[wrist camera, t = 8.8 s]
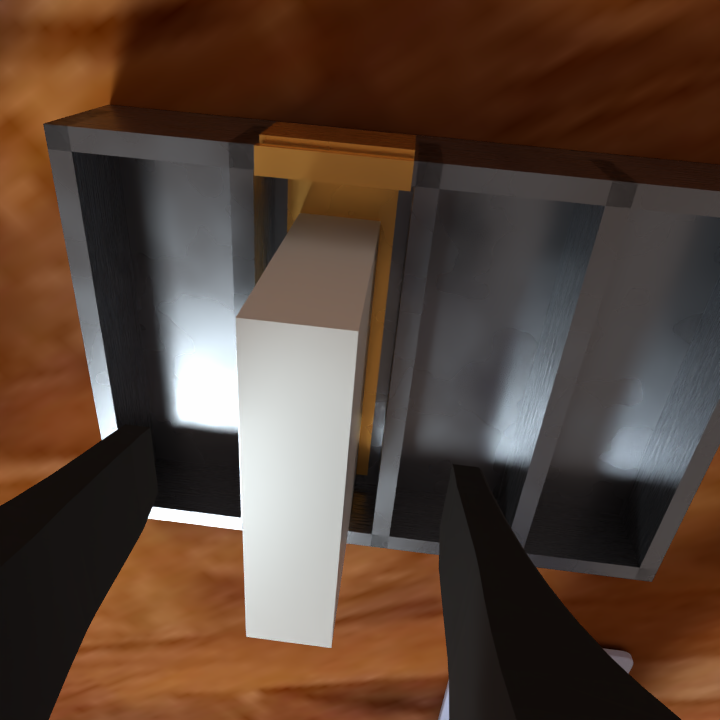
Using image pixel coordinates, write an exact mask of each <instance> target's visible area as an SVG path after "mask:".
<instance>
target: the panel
mask: <svg viewBox="0 0 720 720" xmlns="http://www.w3.org/2000/svg"><path fill="white" fill-rule="evenodd" d="M380 223H381V221H373V220H364V219H354V218H345V217H335V216H325V215H316V214H306V213H300V214H299V215H298V217H297V218H296V220H295V222H294V223H293V225H292V227H291V228H290V230H289V231H288V233H287V235H286V236H285V238H284V240H283V241H282V243H281V244H280V246H279V248H278V249H277V251H276V253H275V254H274V256H273V257H272V259H271V261H270V262H269V264H268V266H267V267H266V269H265V271H264V272H263V274H262V275H261V277H260V279H259V280H258V282H257V284H256V285H255V287H254V288H253V290H252V292H251V293H250V295H249V297H248V298H247V300H246V301H245V303H244V305H243V306H242V308H241V310H240V311H239V313H238V314H237V316H236V345H237V375H238V405H239V434H240V464H241V494H242V524H243V554H244V583H245V613H246V637H253V638H261V639H268V640H276V641H283V642H291V643H298V644H306V645H313V646H321V647H328V648H331V646H332V639H333V632H334V625H335V618H336V611H337V604H338V597H339V590H340V584H341V577H342V570H343V563H344V556H345V549H346V542H347V535H348V528H349V521H350V514H351V507H352V500H353V493H354V486H355V479H356V470H357V459H358V449H359V439H360V429H361V418H362V408H363V398H364V387H365V377H366V367H367V357H368V346H369V336H370V326H371V316H372V305H373V295H374V285H375V275H376V264H377V254H378V244H379V234H380Z"/></svg>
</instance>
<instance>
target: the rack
mask: <svg viewBox="0 0 720 720" xmlns="http://www.w3.org/2000/svg"><path fill="white" fill-rule="evenodd" d="M43 125H44V130H45V136H46V141H47V146H48V152H49V157H50V163H51V168H52V173H53V179H54V184H55V190H56V195H57V201H58V206H59V211H60V217H61V222H62V228H63V233H64V238H65V244H66V249H67V255H68V260H69V266H70V271H71V276H72V282H73V287H74V293H75V298H76V303H77V309H78V314H79V320H80V325H81V331H82V336H83V341H84V347H85V352H86V358H87V363H88V368H89V374H90V379H91V385H92V390H93V395H94V401H95V406H96V412H97V417H98V423H99V428H100V433H101V439H102V440H103V439H104V438H106V437H107V436H109V435H110V434H111V433H113V432H114V431H116V430H117V429H119V428H120V427H122V426H123V425H125V424H127V425H135V426H144V427H150V430H151V437H152V445H153V453H154V461H155V469H156V477H157V485H158V494H157V497H156V499H155V502H154V504H153V507H152V510H151V512H150V515H149V517H148V518H150V519H158V520H166V521H174V522H182V523H190V524H198V525H205V526H213V527H221V528H229V529H237V530H243V524H242V494H241V464H240V434H239V405H238V375H237V345H236V316H237V314H238V313H239V311H240V310H241V308H242V306H243V305H244V303H245V301H246V300H247V298H248V297H249V295H250V293H251V292H252V290H253V288H254V287H255V285H256V284H257V282H258V280H259V279H260V277H261V275H262V274H263V272H264V271H265V269H266V267H267V266H268V264H269V262H270V261H271V259H272V257H273V256H274V254H275V253H276V251H277V249H278V248H279V246H280V244H281V243H282V241H283V240H284V238H285V236H286V235H287V233H288V231H289V230H290V228H291V227H292V225H293V223H294V222H295V220H296V218H297V217H298V215H299V214H300V213H306V214H316V215H325V216H335V217H345V218H354V219H364V220H373V221H381V223H380V234H379V244H378V254H377V264H376V275H375V285H374V295H373V305H372V316H371V326H370V336H369V346H368V357H367V367H366V377H365V387H364V398H363V408H362V418H361V429H360V439H359V449H358V459H357V470H356V479H355V486H354V493H353V500H352V507H351V514H350V521H349V528H348V535H347V542H346V543H348V544H356V545H364V546H372V547H380V548H388V549H396V550H404V551H412V552H420V553H428V554H436V555H439V535H440V523H441V518H442V513H443V508H444V503H445V499H446V494H447V489H448V484H449V479H450V474H451V469H452V464H457V465H465V466H473V467H479V468H480V469H481V470H482V472H483V474H484V476H485V479H486V481H487V483H488V485H489V487H490V489H491V491H492V493H493V495H494V497H495V499H496V501H497V503H498V505H499V507H500V509H501V511H502V513H503V515H504V516H505V518H506V520H507V522H508V524H509V525H510V527H511V529H512V530H513V532H514V534H515V535H516V537H517V539H518V541H519V542H520V544H521V545H522V547H523V549H524V550H525V552H526V553H527V555H528V556H529V558H530V559H531V561H532V562H533V564H534V565H535V567H539V568H547V569H555V570H563V571H571V572H579V573H587V574H595V575H603V576H611V577H619V578H627V579H635V580H642V581H650V582H652V580H653V578H654V576H655V574H656V572H657V570H658V568H659V566H660V564H661V562H662V560H663V558H664V556H665V554H666V552H667V550H668V548H669V546H670V544H671V542H672V540H673V538H674V536H675V534H676V532H677V530H678V528H679V526H680V524H681V522H682V520H683V518H684V516H685V514H686V512H687V510H688V508H689V506H690V503H691V501H692V499H693V497H694V495H695V493H696V491H697V489H698V487H699V485H700V483H701V481H702V479H703V477H704V475H705V473H706V471H707V469H708V467H709V465H710V463H711V461H712V459H713V457H714V455H715V453H716V451H717V449H718V447H719V445H720V165H717V164H706V163H696V162H686V161H676V160H666V159H656V158H645V157H635V156H625V155H615V154H605V153H595V152H584V151H574V150H564V149H554V148H544V147H534V146H523V145H513V144H503V143H493V142H483V141H472V140H462V139H452V138H442V137H432V136H422V135H411V134H401V133H391V132H381V131H371V130H361V129H350V128H340V127H330V126H320V125H310V124H300V123H289V122H279V121H269V120H259V119H249V118H239V117H228V116H218V115H208V114H198V113H188V112H178V111H167V110H157V109H147V108H137V107H127V106H117V105H106V106H102V107H99V108H96V109H92V110H89V111H85V112H82V113H78V114H75V115H72V116H68V117H65V118H61V119H58V120H54V121H51V122H48V123H44V124H43Z"/></svg>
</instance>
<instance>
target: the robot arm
mask: <svg viewBox="0 0 720 720" xmlns="http://www.w3.org/2000/svg"><path fill="white" fill-rule="evenodd" d="M157 494H158V485H157V477H156V469H155V461H154V453H153V445H152V437H151V430H150V427H144V426H135V425H127V424H125V425H123V426H122V427H120V428H119V429H117V430H116V431H114V432H113V433H111V434H110V435H109V436H107V437H106V438H104V439H103V440H101V441H100V442H99V443H97V444H96V445H94V446H93V447H91V448H90V449H89V450H87V451H86V452H84V453H83V454H81V455H80V456H78V457H77V458H75V459H74V460H73V461H71V462H70V463H68V464H67V465H65V466H64V467H62V468H61V469H59V470H58V471H56V472H55V473H53V474H52V475H50V476H49V477H47V478H45V479H44V480H42V481H41V482H39V483H37V484H36V485H34V486H33V487H31V488H29V489H28V490H26V491H25V492H23V493H21V494H20V495H18V496H16V497H15V498H13V499H12V500H10V501H8V502H6V503H5V504H3V505H1V506H0V720H49V718H50V715H51V713H52V710H53V708H54V705H55V703H56V701H57V698H58V696H59V693H60V691H61V689H62V686H63V684H64V681H65V679H66V677H67V674H68V672H69V670H70V667H71V665H72V663H73V661H74V658H75V656H76V654H77V652H78V649H79V647H80V645H81V643H82V640H83V638H84V636H85V634H86V631H87V629H88V627H89V625H90V624H91V622H92V620H93V618H94V616H95V614H96V612H97V610H98V608H99V607H100V605H101V603H102V601H103V600H104V598H105V596H106V594H107V593H108V591H109V589H110V587H111V586H112V584H113V582H114V580H115V579H116V577H117V575H118V574H119V572H120V570H121V568H122V567H123V565H124V563H125V561H126V560H127V558H128V556H129V554H130V552H131V551H132V549H133V547H134V545H135V544H136V542H137V540H138V538H139V536H140V534H141V533H142V531H143V529H144V526H145V524H146V522H147V519H148V517H149V515H150V512H151V510H152V507H153V504H154V502H155V499H156V497H157ZM439 574H440V585H441V595H442V606H443V616H444V626H445V636H446V646H447V656H448V672H449V681H448V685H447V688H446V692H445V696H444V700H443V703H442V707H441V711H440V715H439V719H438V720H681V719H680V718H679V717H678V716H677V715H675V714H674V713H673V712H672V711H671V710H669V709H668V708H667V707H666V706H665V705H664V704H662V703H661V702H660V701H659V700H658V699H656V698H655V697H654V696H653V695H652V694H650V693H649V692H648V691H647V690H646V689H645V688H643V687H642V686H641V685H640V684H639V683H638V682H637V681H636V680H635V679H633V678H632V677H631V676H630V675H629V672H630V670H631V668H632V666H633V660H632V656H631V655H630V654H629V653H628V652H625V651H620V650H613V649H605V648H602V647H601V646H600V645H599V644H598V643H597V642H596V641H595V640H594V639H593V638H592V636H591V635H590V634H589V633H588V632H587V631H586V630H585V629H584V628H583V627H582V626H581V625H580V624H579V622H578V621H577V620H576V619H575V618H574V616H573V615H572V614H571V613H570V612H569V611H568V609H567V608H566V607H565V606H564V605H563V603H562V602H561V601H560V599H559V598H558V597H557V596H556V594H555V593H554V592H553V590H552V589H551V588H550V587H549V585H548V584H547V582H546V581H545V580H544V578H543V577H542V575H541V574H540V573H539V571H538V570H537V568H536V567H535V565H534V564H533V562H532V561H531V559H530V558H529V556H528V555H527V553H526V552H525V550H524V549H523V547H522V545H521V544H520V542H519V541H518V539H517V537H516V535H515V534H514V532H513V530H512V529H511V527H510V525H509V524H508V522H507V520H506V518H505V516H504V515H503V513H502V511H501V509H500V507H499V505H498V503H497V501H496V499H495V497H494V495H493V493H492V491H491V489H490V487H489V485H488V483H487V481H486V479H485V476H484V474H483V472H482V470H481V469H480V468H479V467H473V466H465V465H457V464H452V469H451V474H450V479H449V484H448V489H447V494H446V499H445V503H444V508H443V513H442V518H441V523H440V535H439Z"/></svg>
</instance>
